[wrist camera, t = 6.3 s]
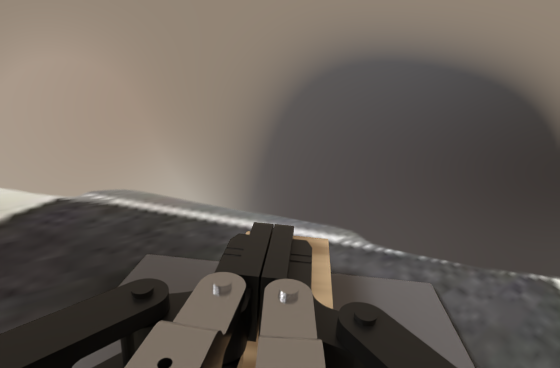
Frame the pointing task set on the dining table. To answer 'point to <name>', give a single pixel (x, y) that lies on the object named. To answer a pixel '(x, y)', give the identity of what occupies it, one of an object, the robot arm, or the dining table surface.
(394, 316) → the charcoal placemat
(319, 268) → the oak card block
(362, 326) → the robot arm
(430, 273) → the dining table surface
